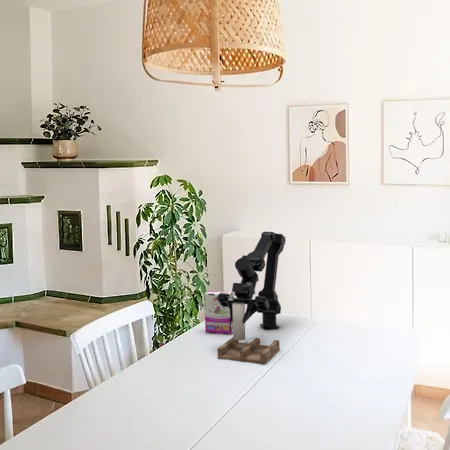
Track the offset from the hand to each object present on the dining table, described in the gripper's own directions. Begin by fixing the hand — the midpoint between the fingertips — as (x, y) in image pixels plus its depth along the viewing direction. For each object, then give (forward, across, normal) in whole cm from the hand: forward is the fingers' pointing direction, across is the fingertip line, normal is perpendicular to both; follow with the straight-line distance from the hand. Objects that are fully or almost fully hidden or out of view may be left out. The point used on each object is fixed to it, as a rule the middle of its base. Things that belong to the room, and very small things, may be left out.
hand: (237, 322), depth 218 cm
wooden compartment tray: (+7, +4, +9) cm, 13 cm away
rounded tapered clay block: (+4, 0, +6) cm, 7 cm away
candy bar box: (-6, -17, +24) cm, 30 cm away
